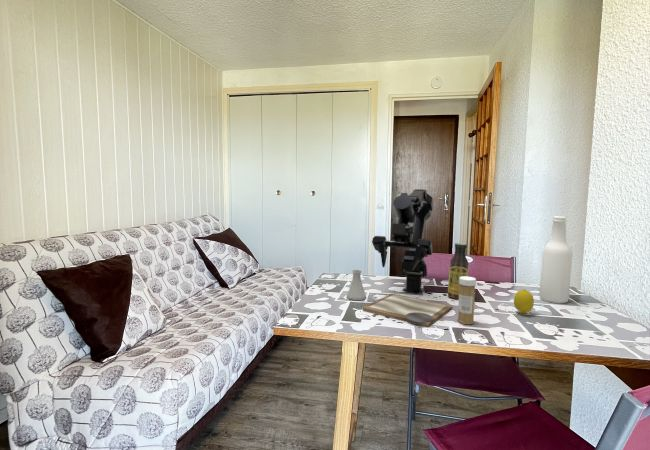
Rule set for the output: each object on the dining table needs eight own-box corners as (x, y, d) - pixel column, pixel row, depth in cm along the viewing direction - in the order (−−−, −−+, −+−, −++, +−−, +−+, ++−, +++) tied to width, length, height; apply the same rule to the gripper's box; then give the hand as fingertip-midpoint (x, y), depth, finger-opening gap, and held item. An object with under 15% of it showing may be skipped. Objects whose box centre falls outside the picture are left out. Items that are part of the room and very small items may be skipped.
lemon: (530, 311, 115) (532, 287, 114) (534, 317, 110) (536, 292, 109) (511, 309, 117) (513, 286, 116) (514, 315, 112) (516, 290, 111)
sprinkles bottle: (476, 322, 106) (478, 277, 104) (469, 326, 103) (471, 280, 101) (461, 318, 109) (463, 275, 108) (454, 321, 106) (456, 277, 104)
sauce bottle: (446, 298, 128) (449, 244, 126) (447, 293, 134) (450, 241, 132) (466, 300, 126) (469, 245, 124) (466, 296, 132) (469, 242, 130)
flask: (366, 295, 132) (366, 268, 131) (366, 301, 125) (367, 273, 124) (346, 294, 132) (347, 268, 131) (345, 300, 125) (346, 272, 124)
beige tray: (391, 296, 131) (392, 292, 131) (452, 309, 117) (452, 305, 117) (361, 311, 114) (361, 307, 114) (426, 328, 101) (427, 324, 101)
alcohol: (568, 299, 129) (575, 216, 125) (567, 305, 121) (574, 218, 118) (540, 294, 134) (546, 215, 131) (538, 300, 127) (544, 216, 124)
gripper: (373, 211, 117) (362, 253, 109) (431, 214, 109) (425, 258, 102) (380, 230, 126) (371, 269, 118) (435, 233, 118) (428, 276, 110)
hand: (397, 268), depth 112 cm, fingers open, 9 cm apart
